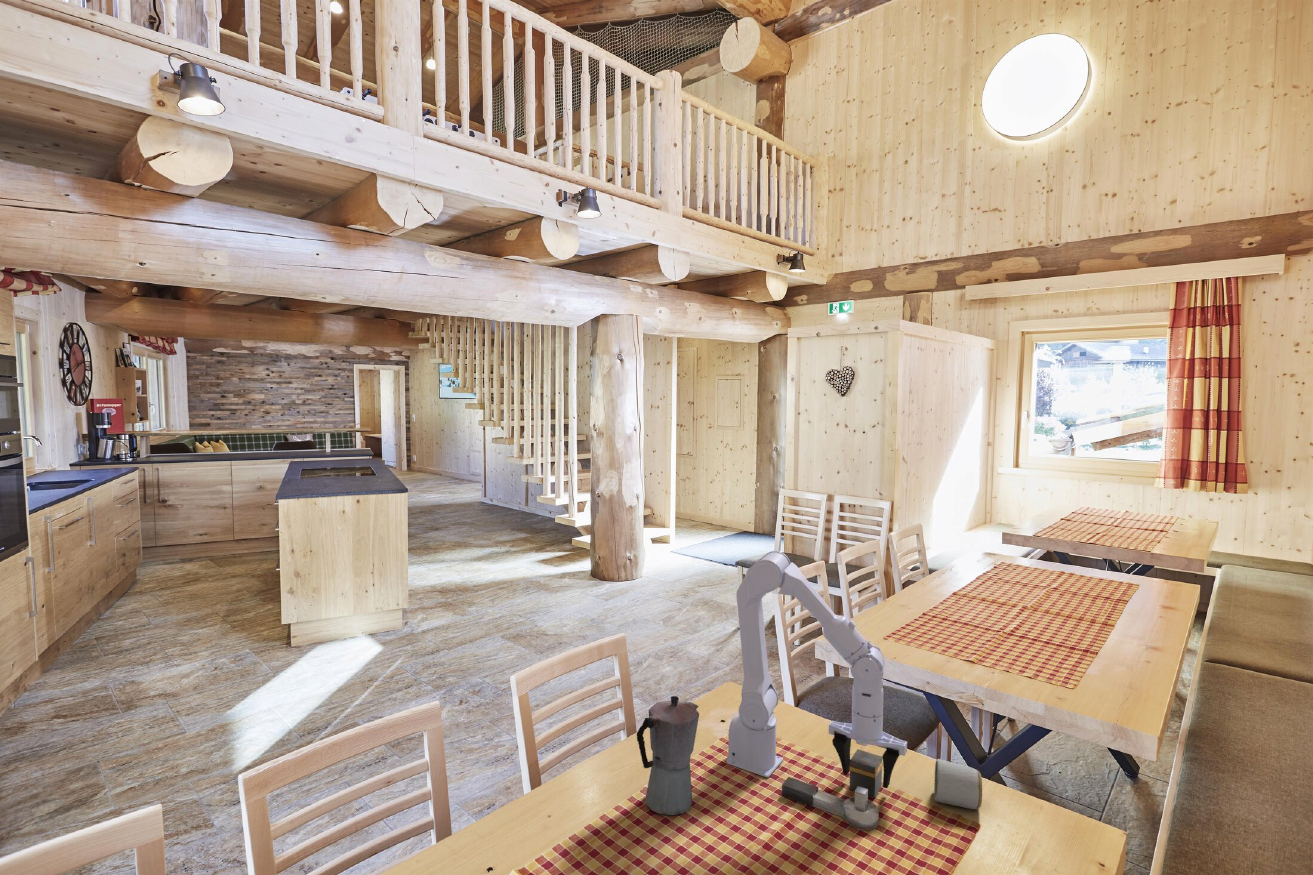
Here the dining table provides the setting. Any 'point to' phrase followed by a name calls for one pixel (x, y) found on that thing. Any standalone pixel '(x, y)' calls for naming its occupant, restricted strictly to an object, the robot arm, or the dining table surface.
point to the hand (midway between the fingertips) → (866, 778)
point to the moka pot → (669, 755)
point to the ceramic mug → (957, 785)
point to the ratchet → (835, 803)
